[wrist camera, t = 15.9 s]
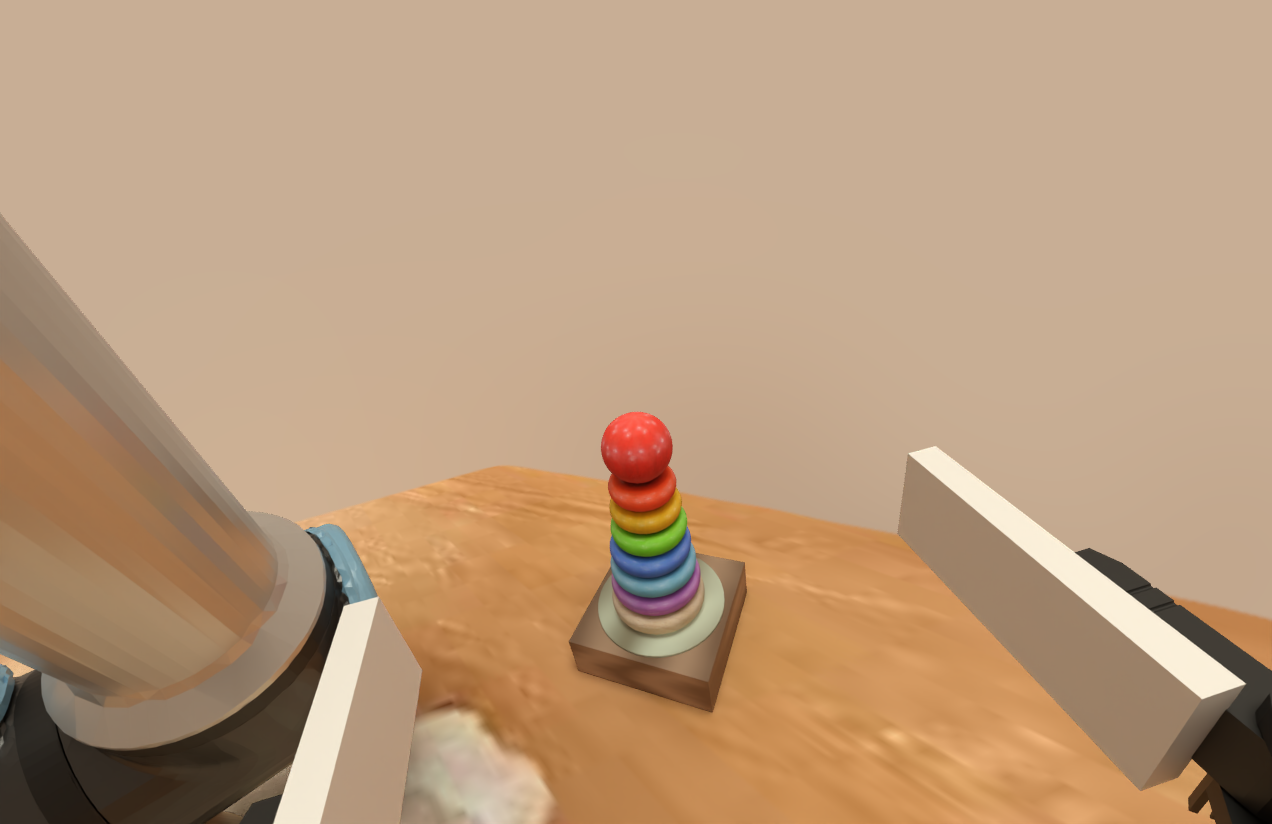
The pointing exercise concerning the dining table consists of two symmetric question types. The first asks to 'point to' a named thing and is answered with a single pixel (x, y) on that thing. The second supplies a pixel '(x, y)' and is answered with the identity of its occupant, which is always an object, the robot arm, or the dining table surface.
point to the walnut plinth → (666, 640)
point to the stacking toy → (649, 529)
